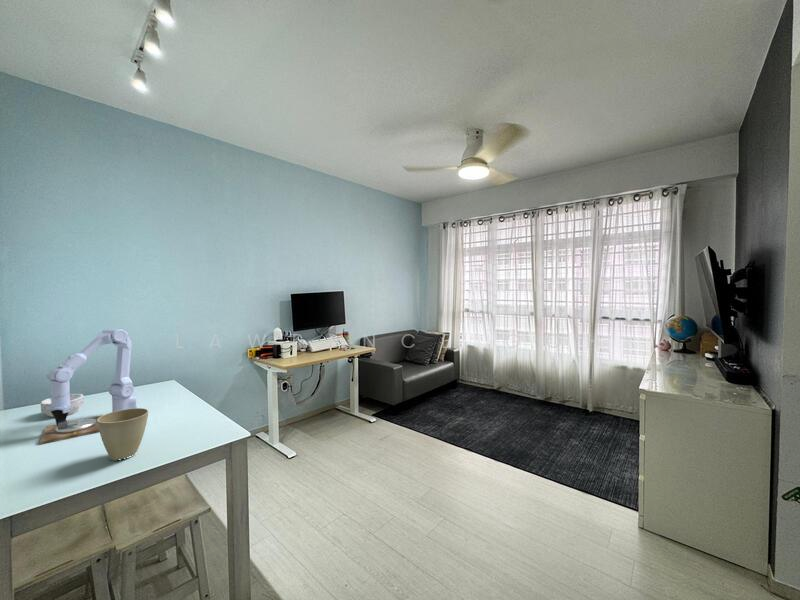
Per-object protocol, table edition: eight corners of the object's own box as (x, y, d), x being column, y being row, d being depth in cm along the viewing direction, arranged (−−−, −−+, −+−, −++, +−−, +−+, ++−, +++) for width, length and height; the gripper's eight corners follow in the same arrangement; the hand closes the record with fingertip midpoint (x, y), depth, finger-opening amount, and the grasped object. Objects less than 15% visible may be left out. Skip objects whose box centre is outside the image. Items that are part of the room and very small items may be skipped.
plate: (106, 417, 160) (105, 414, 160) (106, 430, 146) (106, 427, 146) (46, 429, 147) (46, 426, 147) (40, 444, 132) (40, 441, 132)
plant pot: (138, 463, 119) (137, 420, 118) (88, 469, 115) (87, 424, 114) (155, 444, 133) (155, 406, 133) (112, 449, 129) (111, 409, 129)
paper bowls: (45, 422, 155) (45, 405, 154) (37, 415, 163) (36, 399, 162) (88, 412, 167) (88, 396, 167) (78, 406, 175) (78, 391, 175)
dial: (86, 419, 155) (86, 410, 155) (102, 423, 150) (101, 414, 150) (48, 430, 143) (48, 420, 143) (64, 435, 138) (64, 425, 138)
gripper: (41, 394, 142) (42, 425, 143) (53, 400, 135) (53, 432, 135) (64, 390, 148) (64, 419, 149) (76, 396, 141) (76, 426, 142)
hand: (61, 425), depth 143 cm, fingers closed, pressing on dial
